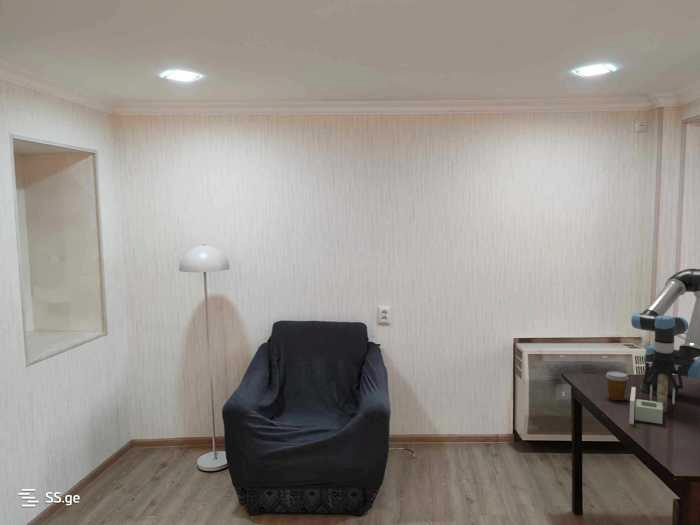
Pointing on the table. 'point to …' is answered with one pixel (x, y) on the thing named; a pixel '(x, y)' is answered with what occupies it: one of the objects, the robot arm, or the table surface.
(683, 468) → the table surface
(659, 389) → the birch dowel
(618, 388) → the disposable coffee cup
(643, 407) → the sage green block
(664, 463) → the table surface
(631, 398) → the pale wall board
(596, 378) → the table surface
